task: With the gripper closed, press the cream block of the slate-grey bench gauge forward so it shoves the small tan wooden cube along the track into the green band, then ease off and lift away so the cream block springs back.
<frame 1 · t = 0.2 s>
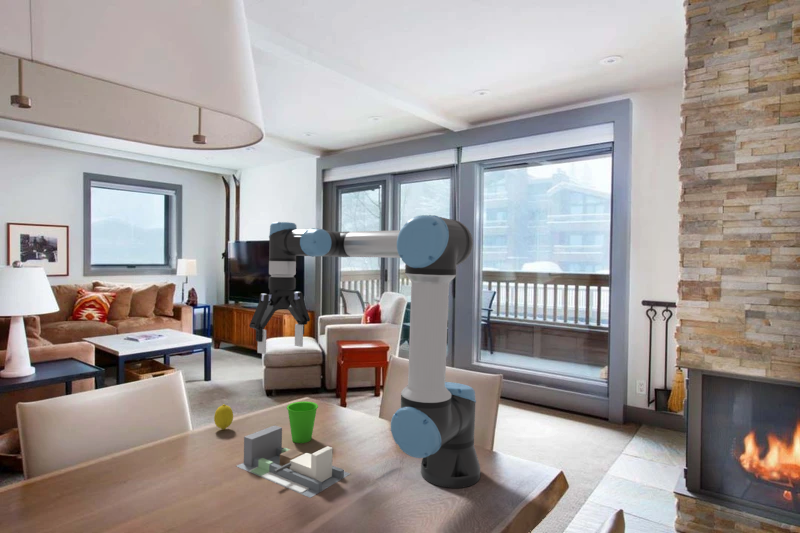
hand: (280, 349, 132), 28 cm above the table, fingers open, 13 cm apart
tan wooden cube: (291, 469, 114), point 1 cm above the table, touching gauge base
cream block: (303, 465, 108), point 5 cm above the table, slide at 0.0 cm
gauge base: (292, 474, 114), on the table
lemon: (223, 430, 142), on the table
cup: (301, 444, 133), on the table
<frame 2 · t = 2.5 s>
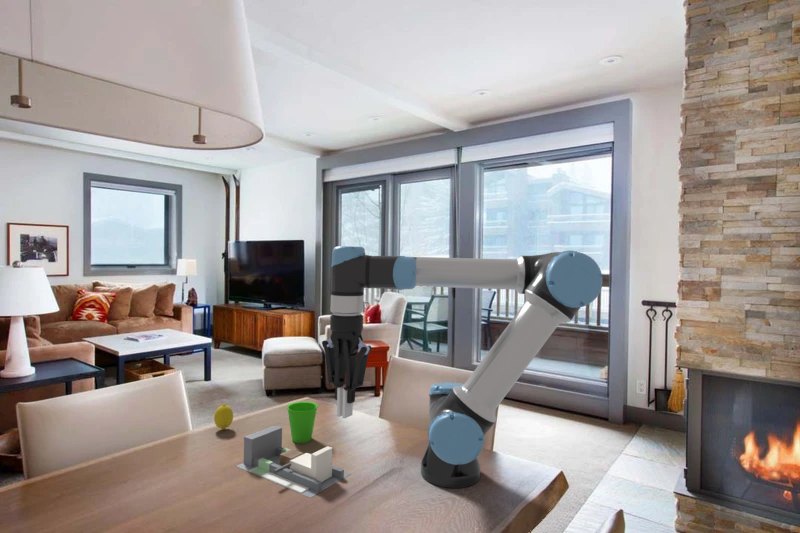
hand: (344, 415, 105), 18 cm above the table, fingers closed
nothing on the table moved.
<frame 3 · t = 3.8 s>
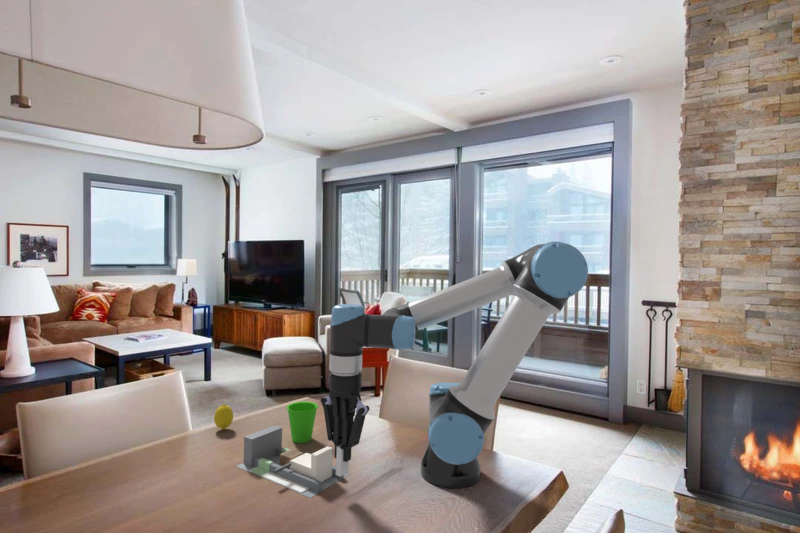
hand: (342, 473, 105), 5 cm above the table, fingers closed
nothing on the table moved.
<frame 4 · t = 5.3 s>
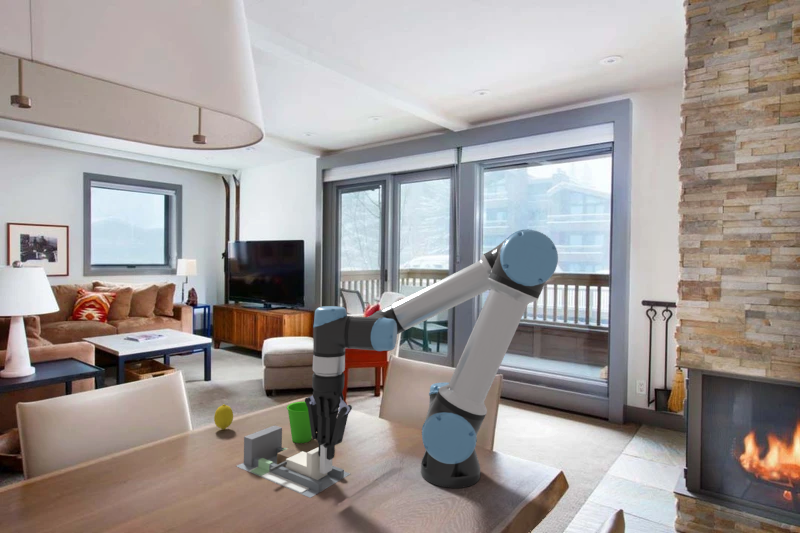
hand: (325, 471, 108), 4 cm above the table, fingers closed
tan wooden cube: (288, 468, 115), point 1 cm above the table, touching cream block
cream block: (299, 463, 109), point 5 cm above the table, slide at 1.5 cm, touching gripper, tan wooden cube
everything else where it was.
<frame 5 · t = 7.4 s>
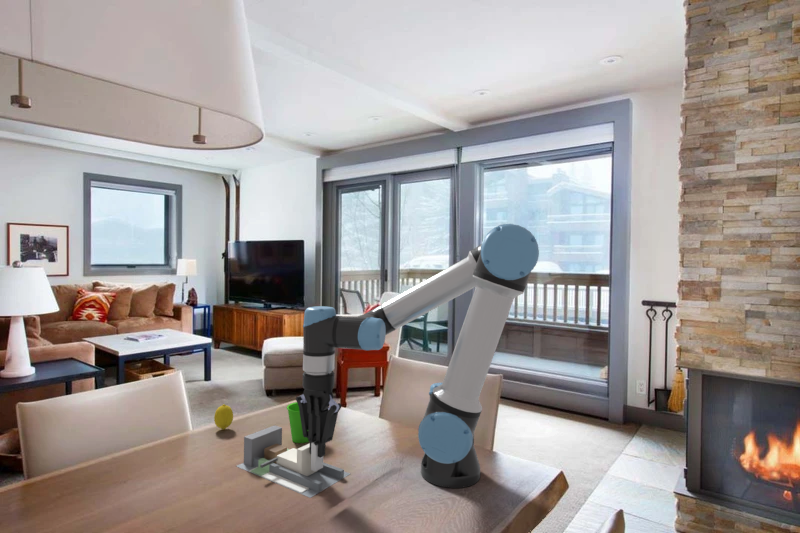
hand: (317, 468, 110), 4 cm above the table, fingers closed
tan wooden cube: (275, 463, 117), point 1 cm above the table, touching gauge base
cream block: (289, 460, 111), point 5 cm above the table, slide at 4.7 cm, touching gripper
everything else where it was.
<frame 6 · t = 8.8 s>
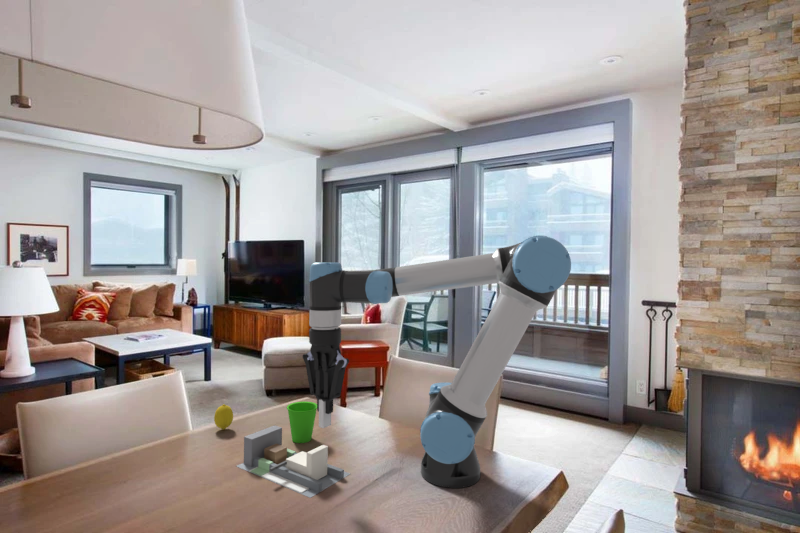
hand: (325, 425, 108), 15 cm above the table, fingers closed
cream block: (298, 463, 109), point 5 cm above the table, slide at 1.5 cm
everything else where it was.
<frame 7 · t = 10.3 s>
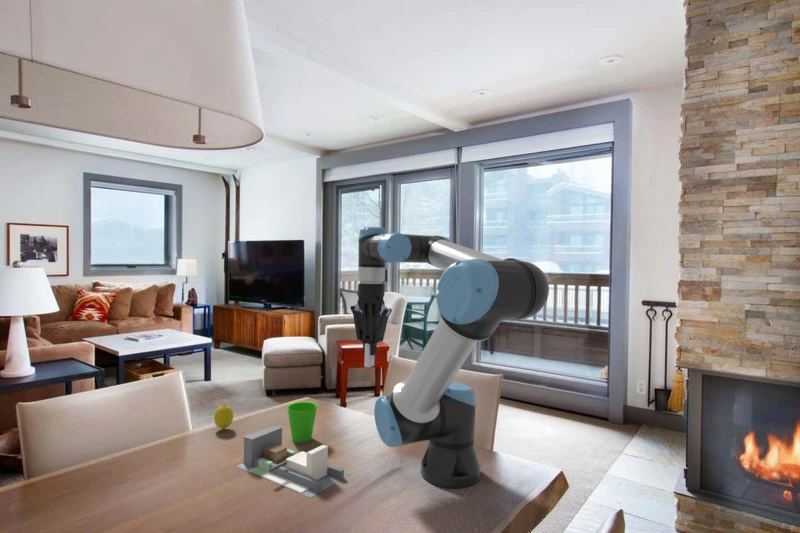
hand: (369, 366, 128), 24 cm above the table, fingers closed
nothing on the table moved.
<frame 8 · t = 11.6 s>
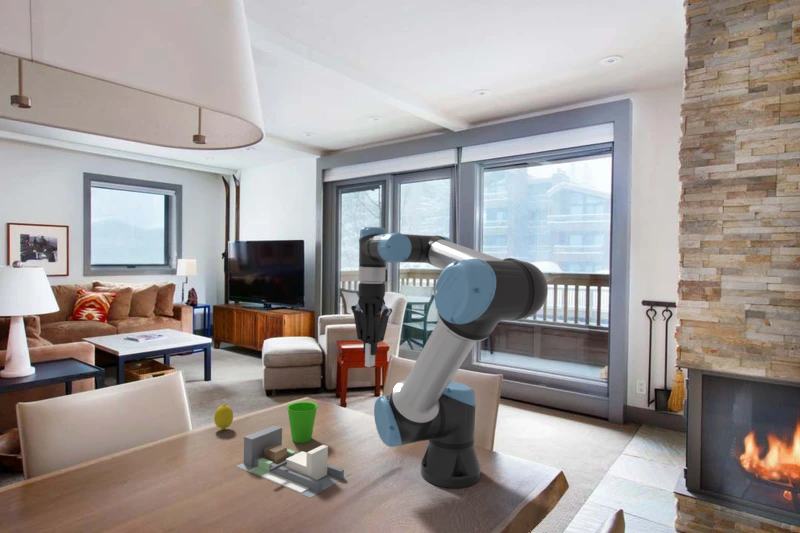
hand: (369, 365, 128), 24 cm above the table, fingers closed
nothing on the table moved.
at the end: tan wooden cube 0.7 cm from the target spot on the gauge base, point 1.2 cm above the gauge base's base; cream block slide at 1.5 cm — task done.
